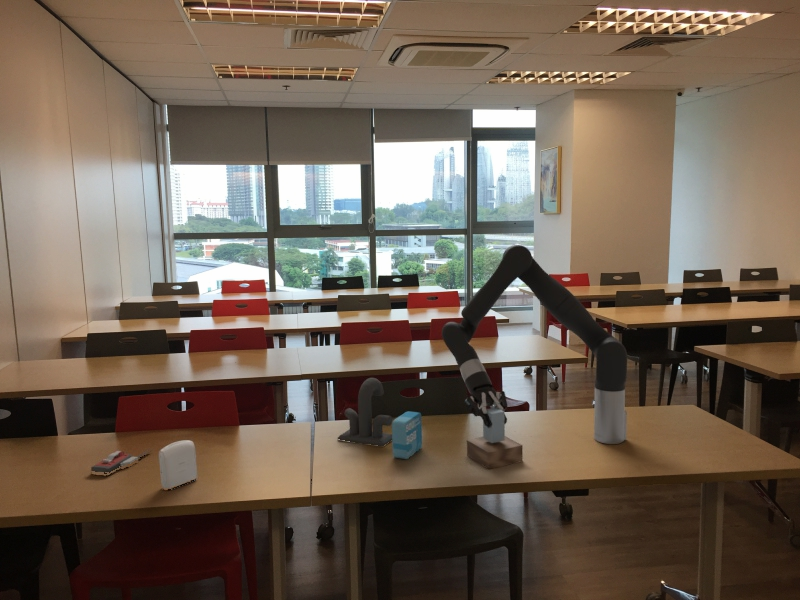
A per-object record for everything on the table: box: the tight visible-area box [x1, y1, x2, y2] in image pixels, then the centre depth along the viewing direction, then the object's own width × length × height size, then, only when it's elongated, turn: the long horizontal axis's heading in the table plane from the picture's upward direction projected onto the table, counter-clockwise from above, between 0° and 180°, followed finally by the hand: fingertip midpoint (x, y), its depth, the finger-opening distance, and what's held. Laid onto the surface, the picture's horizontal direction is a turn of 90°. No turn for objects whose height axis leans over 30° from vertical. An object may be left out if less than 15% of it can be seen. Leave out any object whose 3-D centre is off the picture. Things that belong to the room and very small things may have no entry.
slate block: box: [482, 407, 506, 443], centre depth 187 cm, size 5×5×9 cm
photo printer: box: [158, 439, 198, 488], centre depth 176 cm, size 10×4×12 cm, turn 140°
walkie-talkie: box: [90, 448, 152, 474], centre depth 192 cm, size 9×4×20 cm
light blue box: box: [391, 411, 423, 460], centre depth 194 cm, size 12×4×12 cm, turn 153°
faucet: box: [337, 377, 393, 447], centre depth 210 cm, size 18×16×20 cm
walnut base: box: [466, 435, 524, 470], centre depth 188 cm, size 12×12×5 cm
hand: (497, 424), depth 185 cm, fingers closed on slate block, 4 cm apart
